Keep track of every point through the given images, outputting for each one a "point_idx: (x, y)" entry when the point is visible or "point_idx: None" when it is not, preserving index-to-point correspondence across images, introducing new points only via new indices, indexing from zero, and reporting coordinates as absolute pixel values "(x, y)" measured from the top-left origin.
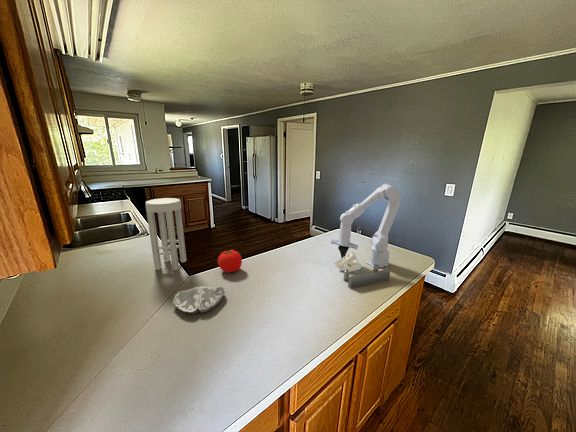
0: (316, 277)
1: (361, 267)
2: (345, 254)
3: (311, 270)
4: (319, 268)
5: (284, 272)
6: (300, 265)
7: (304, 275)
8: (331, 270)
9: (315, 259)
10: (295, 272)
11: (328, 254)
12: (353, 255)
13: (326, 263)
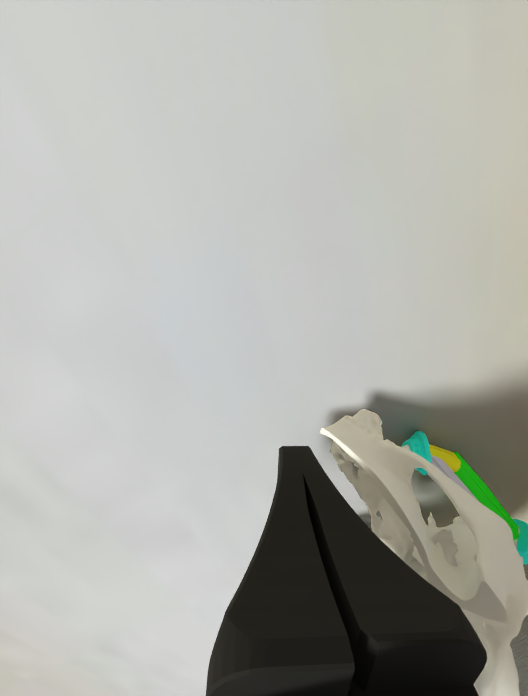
0: (206, 651)
1: (522, 559)
2: (328, 488)
3: (128, 619)
4: (156, 581)
5: (18, 688)
6: (12, 610)
7: (134, 664)
8: (248, 563)
9: (13, 490)
10: (66, 667)
11: (19, 297)
12: (508, 666)
13: (152, 501)
